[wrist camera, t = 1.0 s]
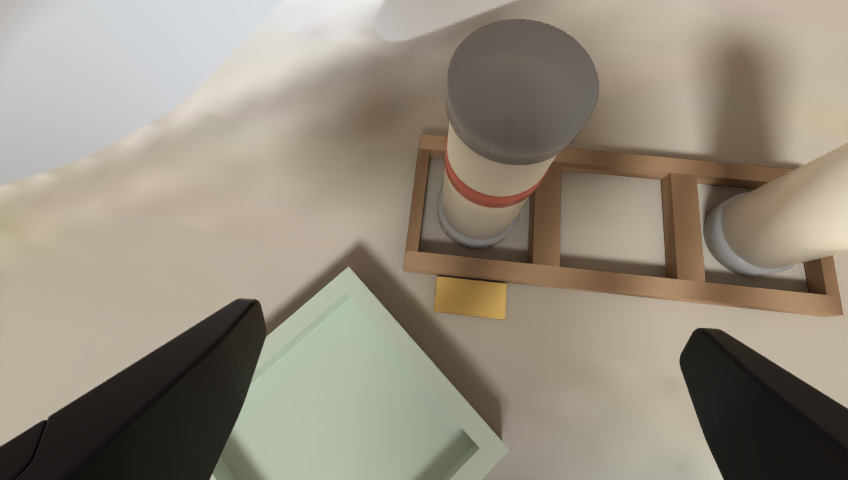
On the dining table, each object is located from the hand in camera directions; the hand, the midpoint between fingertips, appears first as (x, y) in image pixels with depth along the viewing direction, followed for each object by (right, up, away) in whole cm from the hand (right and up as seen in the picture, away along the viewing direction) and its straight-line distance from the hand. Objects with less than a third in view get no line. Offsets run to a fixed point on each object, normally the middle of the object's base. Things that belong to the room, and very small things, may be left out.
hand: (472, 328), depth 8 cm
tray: (-5, -8, +13) cm, 16 cm away
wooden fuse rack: (+10, +2, +15) cm, 18 cm away
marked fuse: (+2, +4, +16) cm, 16 cm away
